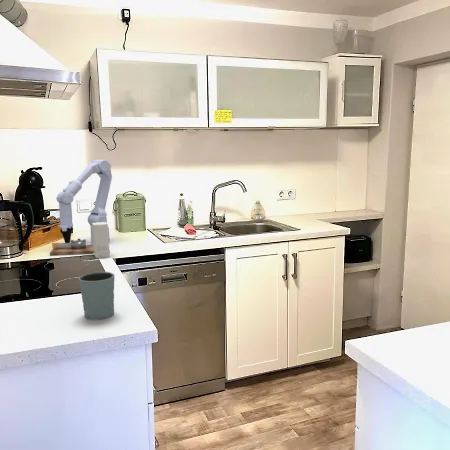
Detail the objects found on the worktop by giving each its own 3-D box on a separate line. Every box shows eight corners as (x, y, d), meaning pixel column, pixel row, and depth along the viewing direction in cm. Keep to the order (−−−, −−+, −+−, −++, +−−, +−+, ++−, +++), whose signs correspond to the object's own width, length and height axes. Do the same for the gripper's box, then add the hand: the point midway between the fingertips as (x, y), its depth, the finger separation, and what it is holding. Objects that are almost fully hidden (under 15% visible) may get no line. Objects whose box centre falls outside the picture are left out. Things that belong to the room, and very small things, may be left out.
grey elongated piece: (86, 245, 226) (86, 238, 226) (85, 248, 220) (84, 241, 219) (54, 247, 224) (53, 239, 223) (51, 250, 217) (50, 242, 216)
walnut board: (96, 247, 231) (96, 244, 231) (94, 253, 216) (94, 250, 216) (55, 249, 227) (55, 245, 227) (49, 255, 213) (49, 252, 212)
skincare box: (110, 257, 209) (108, 224, 207) (95, 258, 207) (93, 224, 204) (107, 253, 217) (106, 221, 214) (93, 254, 214) (91, 222, 212)
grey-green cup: (122, 314, 137) (121, 275, 135) (93, 323, 129) (91, 283, 128) (103, 306, 144) (101, 269, 142) (74, 315, 136) (72, 276, 134)
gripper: (59, 214, 231) (61, 240, 234) (54, 218, 217) (56, 246, 220) (74, 213, 233) (75, 239, 235) (70, 218, 219) (71, 245, 221)
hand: (67, 243), depth 227 cm, fingers closed
